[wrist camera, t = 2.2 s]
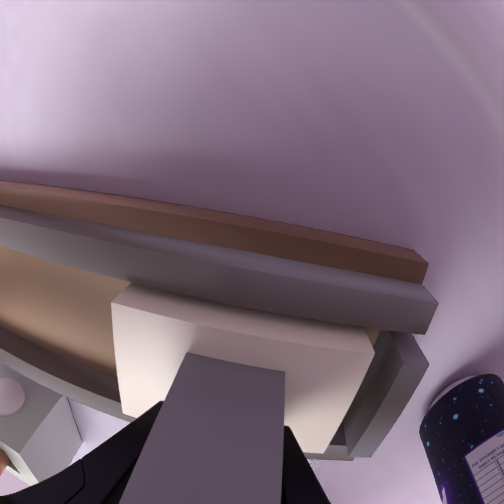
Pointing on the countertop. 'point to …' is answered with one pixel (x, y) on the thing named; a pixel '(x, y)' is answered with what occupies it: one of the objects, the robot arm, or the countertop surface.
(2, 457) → the button
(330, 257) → the rail
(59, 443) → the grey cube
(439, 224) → the countertop surface
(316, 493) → the robot arm
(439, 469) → the beverage can
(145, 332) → the carriage
